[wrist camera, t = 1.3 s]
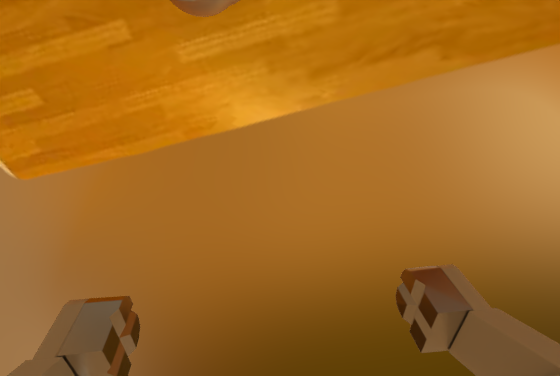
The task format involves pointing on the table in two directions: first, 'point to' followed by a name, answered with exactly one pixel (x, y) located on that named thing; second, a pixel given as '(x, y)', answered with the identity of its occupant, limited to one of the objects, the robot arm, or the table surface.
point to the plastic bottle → (203, 6)
